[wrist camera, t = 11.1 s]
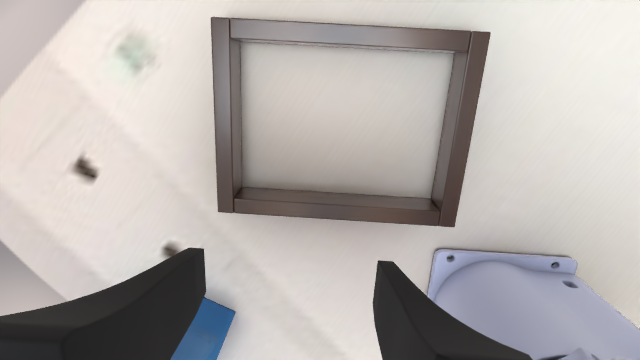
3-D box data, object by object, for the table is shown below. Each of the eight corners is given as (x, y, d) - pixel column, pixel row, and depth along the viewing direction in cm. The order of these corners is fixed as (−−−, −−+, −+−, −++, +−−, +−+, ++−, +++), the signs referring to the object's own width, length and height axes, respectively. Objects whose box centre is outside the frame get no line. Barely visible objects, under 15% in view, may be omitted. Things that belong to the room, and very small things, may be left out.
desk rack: (474, 35, 20) (491, 31, 18) (443, 213, 23) (454, 227, 21) (222, 22, 20) (210, 16, 18) (227, 199, 24) (217, 212, 21)
